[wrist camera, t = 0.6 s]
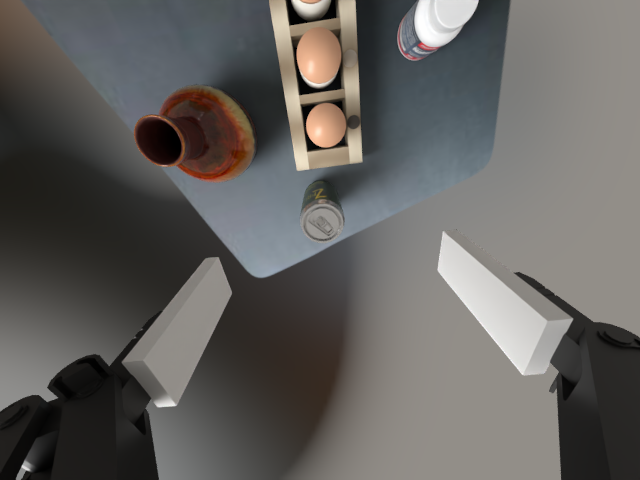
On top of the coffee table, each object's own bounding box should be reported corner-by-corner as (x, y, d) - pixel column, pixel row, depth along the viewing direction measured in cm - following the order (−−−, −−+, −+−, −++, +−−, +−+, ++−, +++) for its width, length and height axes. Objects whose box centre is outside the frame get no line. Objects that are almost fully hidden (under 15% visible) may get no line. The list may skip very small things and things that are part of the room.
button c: (305, 109, 30) (303, 106, 26) (340, 103, 29) (344, 100, 25) (310, 147, 32) (309, 149, 28) (343, 142, 31) (347, 144, 27)
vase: (278, 132, 33) (251, 136, 19) (236, 189, 37) (187, 227, 23) (210, 70, 30) (118, 20, 16) (171, 139, 33) (68, 147, 20)
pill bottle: (398, 66, 30) (428, 44, 22) (394, 14, 28) (425, -31, 20) (439, 54, 29) (485, 27, 21) (439, 0, 27) (489, -53, 19)
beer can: (344, 197, 37) (355, 225, 27) (320, 218, 39) (321, 252, 28) (321, 172, 36) (323, 191, 25) (297, 195, 37) (289, 223, 26)
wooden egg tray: (264, -50, 25) (255, -81, 21) (346, -65, 25) (351, -99, 21) (299, 166, 35) (297, 171, 31) (357, 158, 35) (362, 162, 31)
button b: (296, 45, 27) (293, 30, 23) (335, 39, 27) (339, 23, 23) (302, 91, 29) (300, 85, 25) (339, 86, 29) (343, 79, 25)
